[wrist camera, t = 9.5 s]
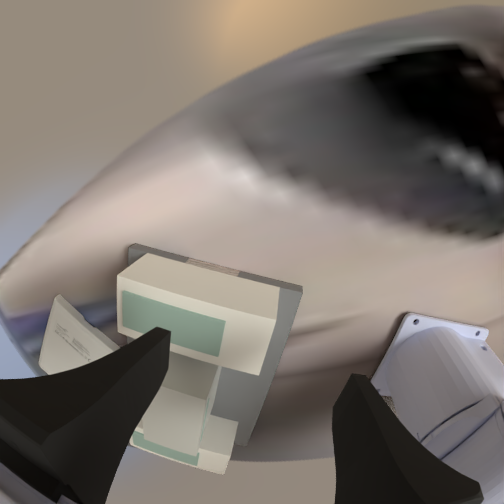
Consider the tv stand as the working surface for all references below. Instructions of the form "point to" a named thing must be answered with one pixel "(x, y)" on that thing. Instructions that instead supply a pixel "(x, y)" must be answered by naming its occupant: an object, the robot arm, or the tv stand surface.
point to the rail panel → (210, 337)
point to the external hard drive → (71, 340)
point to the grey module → (182, 404)
